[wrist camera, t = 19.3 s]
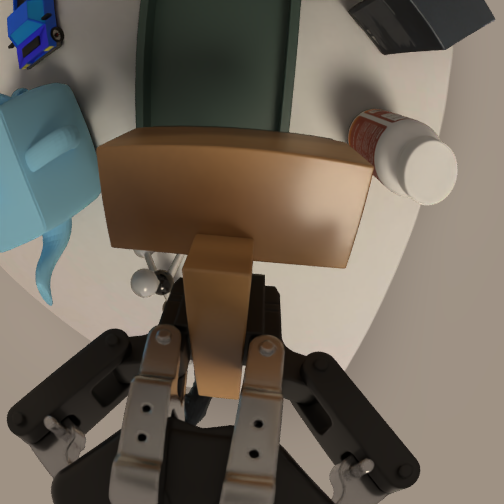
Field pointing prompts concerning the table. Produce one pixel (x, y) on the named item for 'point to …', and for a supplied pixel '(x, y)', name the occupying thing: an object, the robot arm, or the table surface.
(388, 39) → the box
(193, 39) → the tray
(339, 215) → the brush
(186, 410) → the sculpture
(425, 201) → the pill bottle
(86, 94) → the table surface
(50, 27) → the toy car
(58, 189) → the teapot
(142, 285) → the molecular model
